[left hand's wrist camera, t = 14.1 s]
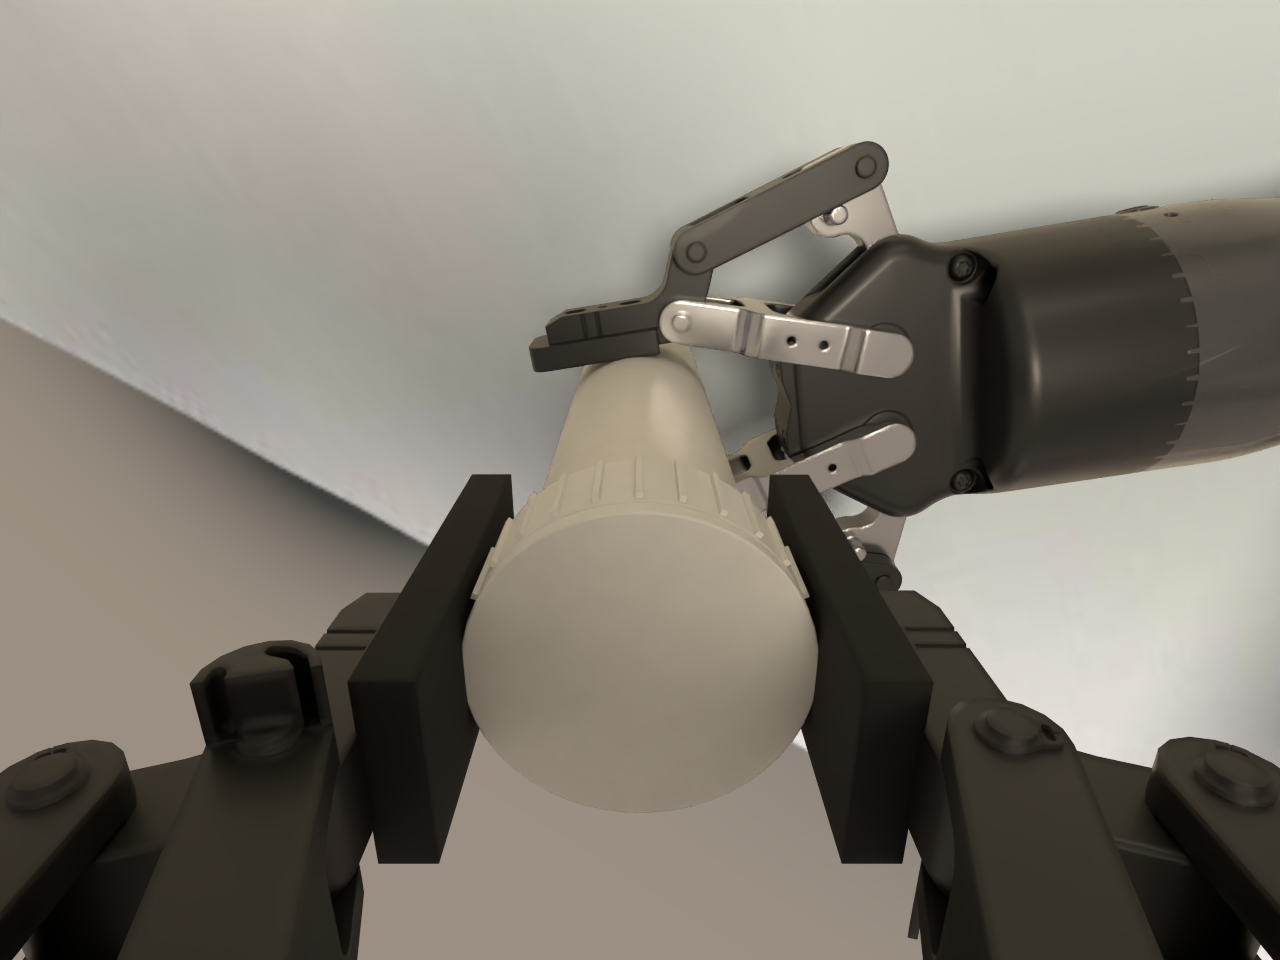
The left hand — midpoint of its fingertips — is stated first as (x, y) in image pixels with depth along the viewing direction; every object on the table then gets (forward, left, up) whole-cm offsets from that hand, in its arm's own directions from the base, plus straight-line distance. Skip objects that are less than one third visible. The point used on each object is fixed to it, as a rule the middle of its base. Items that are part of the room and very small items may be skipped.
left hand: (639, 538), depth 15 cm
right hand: (-2, -2, -8) cm, 9 cm away
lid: (0, 0, +4) cm, 4 cm away
